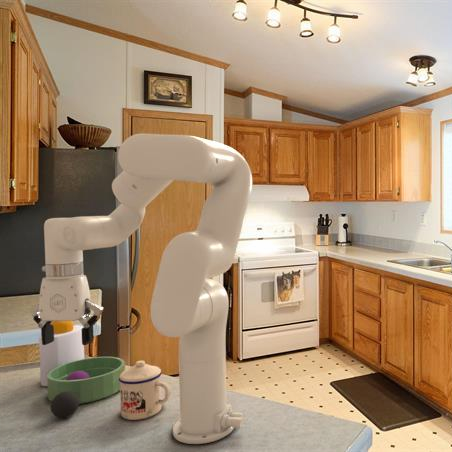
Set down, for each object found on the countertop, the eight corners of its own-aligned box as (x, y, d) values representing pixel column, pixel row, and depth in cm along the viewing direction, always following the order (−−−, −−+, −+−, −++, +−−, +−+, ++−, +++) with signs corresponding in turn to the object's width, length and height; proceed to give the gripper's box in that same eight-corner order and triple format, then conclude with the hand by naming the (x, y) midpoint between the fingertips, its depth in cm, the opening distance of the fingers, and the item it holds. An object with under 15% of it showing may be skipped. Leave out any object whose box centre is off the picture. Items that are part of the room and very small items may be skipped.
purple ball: (95, 390, 110) (95, 368, 110) (78, 399, 105) (77, 376, 105) (78, 388, 112) (77, 367, 112) (59, 397, 106) (59, 374, 106)
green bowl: (140, 380, 118) (139, 358, 118) (89, 409, 101) (88, 384, 100) (86, 375, 122) (86, 354, 122) (30, 402, 105) (29, 378, 105)
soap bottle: (69, 368, 128) (66, 300, 128) (93, 369, 127) (90, 301, 126) (31, 386, 115) (28, 311, 115) (57, 388, 114) (54, 311, 113)
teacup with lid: (110, 418, 96) (109, 367, 96) (137, 401, 105) (136, 353, 104) (157, 424, 93) (156, 371, 93) (181, 405, 102) (180, 357, 101)
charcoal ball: (85, 412, 99) (84, 388, 99) (65, 423, 94) (64, 398, 94) (65, 409, 101) (64, 386, 101) (44, 421, 95) (43, 396, 95)
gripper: (17, 273, 97) (20, 348, 98) (90, 272, 96) (93, 348, 96) (41, 269, 105) (44, 338, 105) (109, 268, 103) (112, 338, 104)
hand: (67, 343), depth 101 cm, fingers open, 9 cm apart
